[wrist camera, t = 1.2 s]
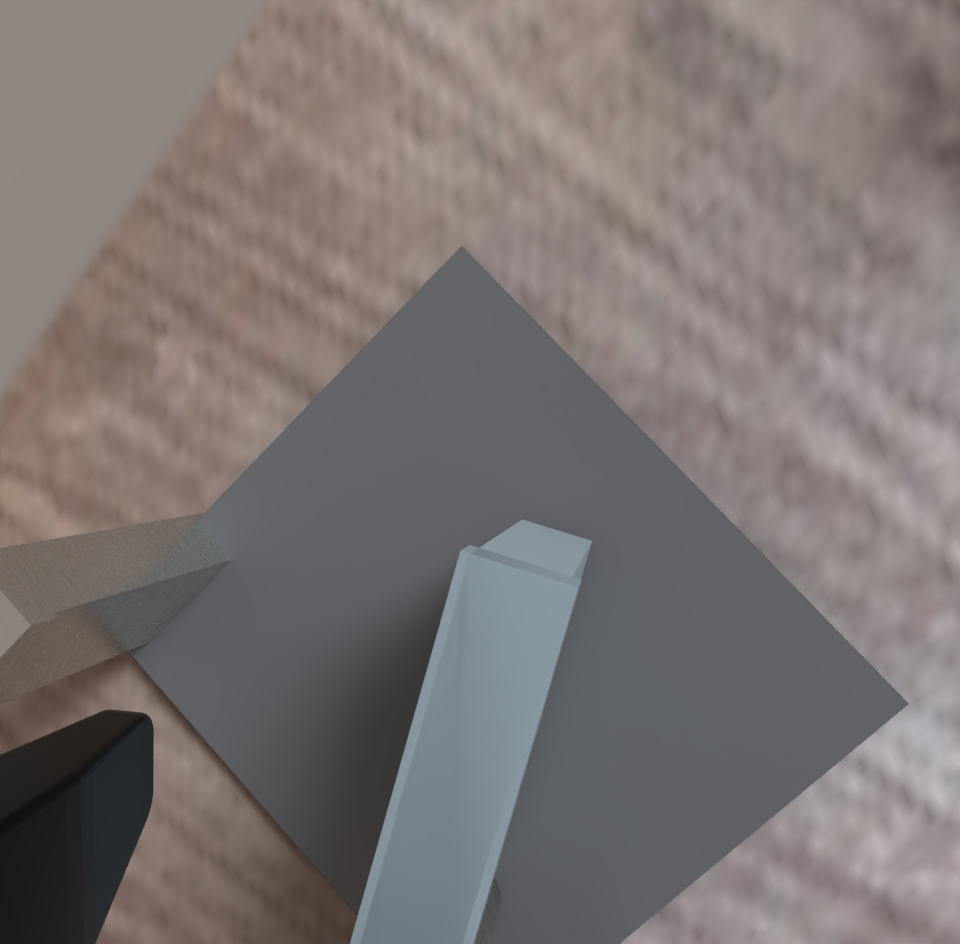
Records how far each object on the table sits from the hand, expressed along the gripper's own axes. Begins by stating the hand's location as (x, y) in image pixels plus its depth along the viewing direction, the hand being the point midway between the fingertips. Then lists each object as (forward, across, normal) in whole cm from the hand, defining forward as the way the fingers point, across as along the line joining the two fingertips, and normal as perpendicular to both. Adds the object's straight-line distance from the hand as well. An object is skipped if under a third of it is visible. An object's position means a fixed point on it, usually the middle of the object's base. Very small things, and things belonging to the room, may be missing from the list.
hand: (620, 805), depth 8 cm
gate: (+10, +1, +4) cm, 10 cm away
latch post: (+12, +8, +3) cm, 15 cm away
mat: (+11, +1, +4) cm, 12 cm away
